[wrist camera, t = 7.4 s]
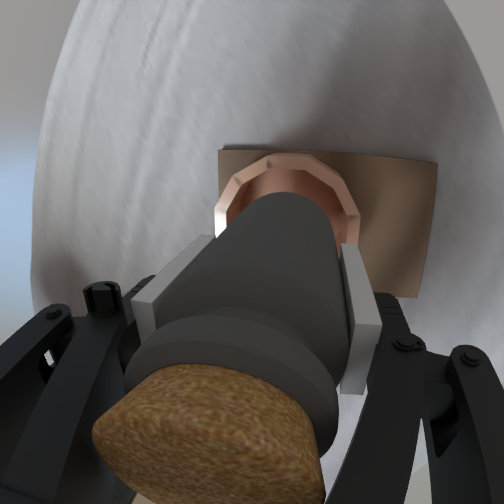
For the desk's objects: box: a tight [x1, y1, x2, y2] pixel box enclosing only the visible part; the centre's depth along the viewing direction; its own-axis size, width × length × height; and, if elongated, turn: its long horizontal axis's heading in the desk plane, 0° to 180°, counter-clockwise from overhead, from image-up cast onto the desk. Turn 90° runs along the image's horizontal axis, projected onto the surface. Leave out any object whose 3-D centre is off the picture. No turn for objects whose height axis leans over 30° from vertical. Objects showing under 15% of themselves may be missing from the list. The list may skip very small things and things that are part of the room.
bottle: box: [92, 192, 349, 504], centre depth 11 cm, size 6×6×15 cm
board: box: [218, 149, 438, 298], centre depth 25 cm, size 18×12×1 cm, turn 90°
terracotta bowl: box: [214, 153, 361, 258], centre depth 23 cm, size 10×10×5 cm
